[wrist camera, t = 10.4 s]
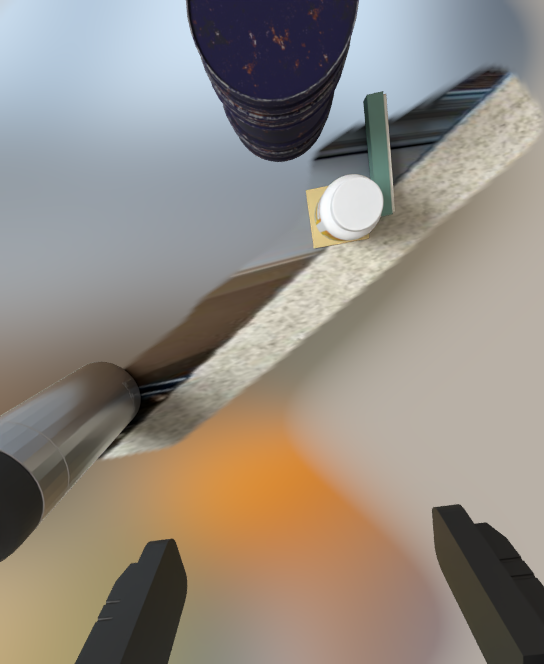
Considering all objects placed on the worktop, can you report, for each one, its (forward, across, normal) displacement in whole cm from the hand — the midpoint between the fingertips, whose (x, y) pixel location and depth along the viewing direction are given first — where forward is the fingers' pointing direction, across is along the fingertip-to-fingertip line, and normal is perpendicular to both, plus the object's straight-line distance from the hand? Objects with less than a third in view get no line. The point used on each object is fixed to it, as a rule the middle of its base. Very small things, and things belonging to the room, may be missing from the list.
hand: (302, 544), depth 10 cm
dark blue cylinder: (+29, -3, -22) cm, 37 cm away
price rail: (+29, -12, -16) cm, 35 cm away
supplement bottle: (+29, -8, -11) cm, 32 cm away
